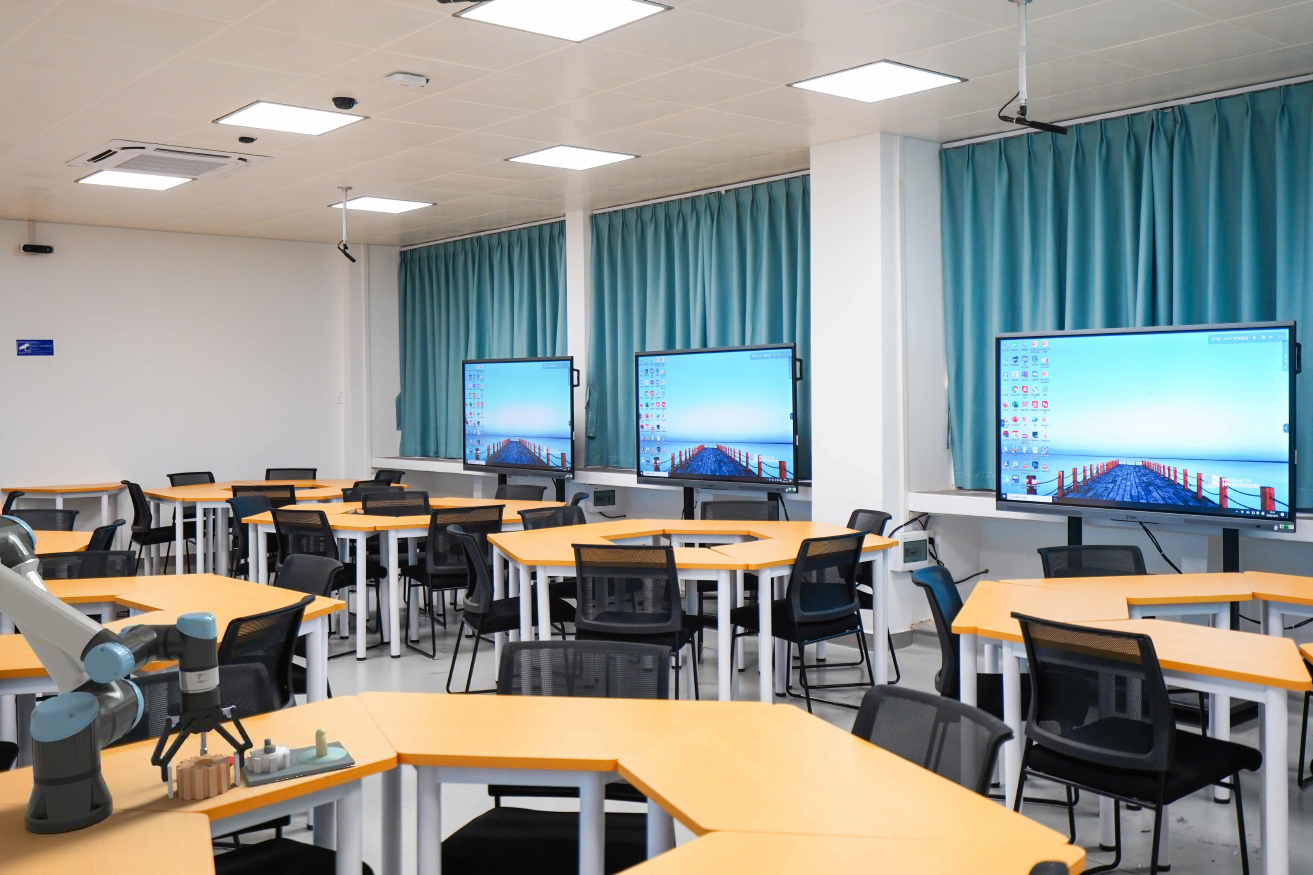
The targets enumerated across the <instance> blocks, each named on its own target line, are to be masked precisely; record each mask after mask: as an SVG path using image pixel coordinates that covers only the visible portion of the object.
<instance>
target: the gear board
mask: <svg viewBox="0 0 1313 875" xmlns="http://www.w3.org/2000/svg"><path fill="white" fill-rule="evenodd" d="M327 736H328V734H327V730H326V729H325V728H317V730H316V731H315V745H311V746H306V747H300V748H294V749H293V747H292V746H289V747H287V746H286V744H279V745H275V744H272V738H265V739H264V741H263V742H264V744H263V745H264V746H263V747H260V748H257V749H252V750H251V751H249V754H247V755H246V756H247V757H244V759H245V765H244V767H242V768H240V769H241V772H242V774H243V773H244V774H243V775H244V779H245V780H246V782H247V784H248V787H255V786H259V785H260V786H261V785H264V783H266V784H269V783H268V782H271V783H274V782H273V781H276V780H281V781H283V780H282V779H286V778H291V779H293V778H292V777H296V776H301V775H307V774H312V775H314V774H313V773H317V774H321V772H322V773H325V772H324V771H327V772H331V771H330V770H332V771H337V770H336V769H338V770H341V769H340V768H343V769H345V768H344V767H347V766H351V765H354V764H355V765H356V760H354V758H353V757H352V756H351V754H350V753H349V751H347V749H346V748H345V747H344V745H343V744H342V743H341V742H340V741H334V742H333V741H332V742H328V737H327ZM307 776H308V775H307ZM296 778H297V777H296ZM286 780H287V779H286ZM276 782H277V781H276Z"/></svg>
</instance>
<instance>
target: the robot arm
mask: <svg viewBox="0 0 1313 875" xmlns="http://www.w3.org/2000/svg"><path fill="white" fill-rule="evenodd" d="M36 545H37V537H36V533H34V531H33V528H31V526H30V525H29V524H28V523H27V522H26V521H24V520H22V519H20V518H19V517H16V516H12V515H7V514H6V515H5V514H0V613H1V614H3V615H4V616H6V617H8V618H9V619H11V620H12V622H13V624H15V626H16V628H17V629H18V630H19V632H20V634H21V635H22V636H23V639H25V641H26V642H27V644H28V645H29V647H30V649H31V650H32V652H33V653H34V654H35V656H36V657H37V659H38V660H39V662H40V663H41V665H42V666H43V667H44V669H45V672H47V673H48V675H49V676H50V678H51V679H52V681H53V683H54V684H55V686H56V687H57V688H58V694H57V696H51V697H50V698H47V699H45V700H43V701H42V702H40V703H38V704H37V705H36V706H35V707H34V709H32V711H31V713H30V724H29V734H30V742H31V745H30V746H31V756H32V757H31V762H32V776H33V786H32V790H31V793H30V797H29V800H28V803H27V806H26V809H25V814H24V827H26V828H25V829H26V830H27V831H29V832H32V833H35V834H36V833H37V834H57V833H64V832H70V831H74V830H79V829H82V828H86V827H89V826H91V825H94V824H96V823H99V822H101V821H102V820H104V819H106V818H108V817H109V816H110V815H111V814H112V813H113V811H114V803H113V802H114V800H113V796H112V793H111V792H110V789H109V787H108V785H107V783H106V780H105V778H104V776H103V774H102V773H103V772H102V763H101V762H102V761H101V757H102V756H101V750H102V749H103V748H105V747H107V746H108V745H110V744H111V743H114V742H115V741H116V740H119V739H121V738H122V737H124V736H125V735H127V734H128V733H129V732H131V730H133V729H134V728H135V727H136V726H137V725H138V724H139V722H140V720H141V719H142V716H143V712H144V709H145V708H144V707H145V701H144V697H143V694H142V692H141V689H140V688H139V686H137V685H136V683H135V682H133V681H131V680H130V679H125V678H126V677H127V676H128V675H129V674H131V673H133V672H135V671H137V670H139V669H142V668H143V667H145V666H147V665H150V664H151V663H153V662H155V663H156V662H175V661H178V662H177V663H178V675H179V676H178V678H179V688H180V690H181V692H180V694H179V697H180V698H179V699H180V712H179V714H178V715H173V716H171V715H170V714H167V715H166V716H164V721H163V722H164V726H163V729H162V730H161V731H162V732H161V733H160V736H159V739H158V741H157V743H156V745H155V748H154V750H153V754H152V756H151V757H150V763H151V765H152V767H153V766H154V767H155V766H156V767H160V778H161V781H162V783H167V795H168V799H173V798H174V786H173V766H172V763H171V762H172V759H173V758H174V757H175V755H176V754H177V752H178V751H179V750H180V749H181V747H182V745H183V744H184V742H186V741H187V739H188V738H189V737H190V735H191V734H193V735H199V734H201V732H206V733H210V732H212V730H215V732H217V733H218V734H219V735H220V736H221V737H222V738H223V739H224V740H225V741H226V742H227V743H228V744H230V746H231V747H233V749H234V751H233V755H232V757H234V764H233V774H234V784H235V786H241V774H240V771H241V770H240V769H241V768H242V767H244V765H245V759H244V758H245V752H246V751H247V750H250V749H253V747H254V744H253V742H252V740H251V738H250V736H249V735H248V733H247V731H246V730H245V727H244V725H243V724H242V723H241V720H240V719H239V718H238V709H237V707H236V705H234V704H231V705H229V707H225V708H222V707H221V694H220V693H221V692H220V687H219V686H218V685H219V684H220V675H219V674H220V672H219V660H218V659H219V656H218V654H219V653H218V652H219V651H218V634H219V633H218V631H217V623H216V616H215V615H214V614H212V613H210V612H206V611H203V612H202V611H198V612H189V613H185V614H181V615H180V616H178V617H177V619H176V623H175V624H173V623H172V624H171V623H170V624H144V623H138V624H134V625H126V626H124V627H123V628H121V629H120V632H118V634H117V633H116V632H114V631H112V630H110V629H109V628H107V627H105V625H102V624H101V623H99V622H98V621H96V620H95V619H93V618H91V617H89V616H87V615H86V614H84V613H83V612H81V611H80V610H78V609H76V608H75V607H73V606H71V605H70V604H68V603H66V602H65V601H63V600H61V599H60V598H59V597H57V596H55V595H54V594H53V593H52V592H51V591H50V588H49V587H48V585H47V584H46V583H45V581H44V580H43V578H42V576H40V574H39V573H38V566H39V563H40V559H39V557H38V556H37V554H36V550H37V547H36ZM224 715H225V716H226V717H227V718H228V719H231V721H232V724H233V725H234V726H235V728H236V730H237V732H238V733H239V735H240V737H241V739H242V740H243V743H240V742H239V741H238V740H237V739H236V738H235V736H233V735H232V734H231V733H230V731H228V730H227V729H226V728H225V727H224V726H223V725H222V724H221V723H220V722H219V721H220V720H221V719H222V717H223V716H224ZM178 723H180V724H181V725H182V726H183V727H182V728H181V730H180V732H179V733H178V735H177V736H176V737H175V739H174V741H173V742H172V743H171V745H170V747H168V749H167V750H166V752H165V753H164V754H163V752H164V749H165V747H166V744H167V743H168V740H169V737H170V735H171V732H172V728H175V727H176V725H177V724H178ZM162 754H163V756H162Z"/></svg>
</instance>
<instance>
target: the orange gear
mask: <svg viewBox="0 0 1313 875" xmlns="http://www.w3.org/2000/svg"><path fill="white" fill-rule="evenodd" d="M229 756H230V755H225V754H224V755H223V753H215V754H211V753H207V754H204V755H203V756H200V755H199V756H198V755H195V756H191V757H190V758H189V759H186V758H185V759H182V760H181V761H179V763H176V766H175V776H176V777H175V778H176V780H175V781H176V795H177V798H178V799H183V800H184V801H185V800H186V801H191V800H193V799H195V800H196V801H198V800H204V799H205V798H211V799H212V798H215V797H217V796H218V794H221V795H222V794H225V793H227V792H228V790H229V789H231V785H232V784H231V766H230V758H229Z"/></svg>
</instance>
